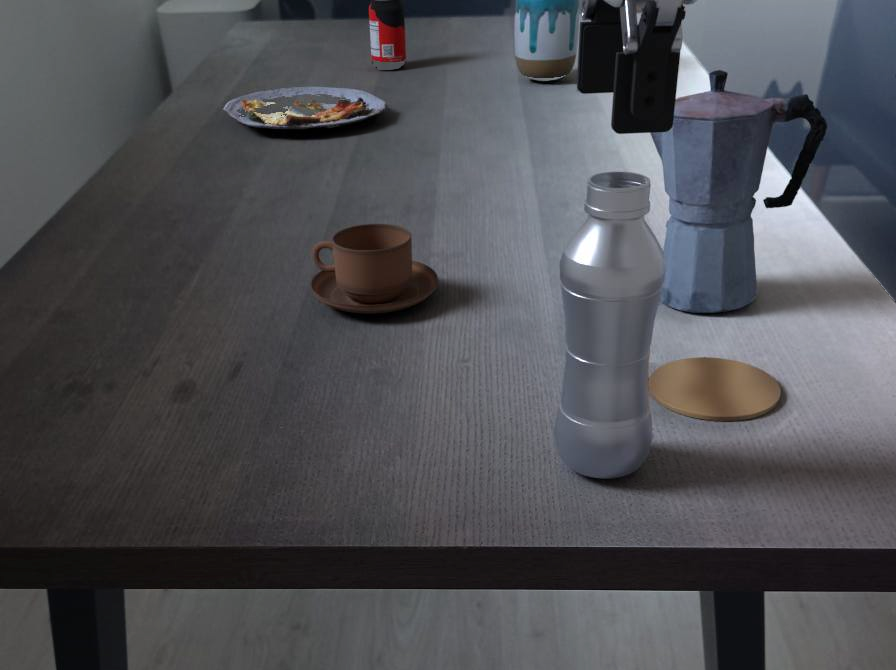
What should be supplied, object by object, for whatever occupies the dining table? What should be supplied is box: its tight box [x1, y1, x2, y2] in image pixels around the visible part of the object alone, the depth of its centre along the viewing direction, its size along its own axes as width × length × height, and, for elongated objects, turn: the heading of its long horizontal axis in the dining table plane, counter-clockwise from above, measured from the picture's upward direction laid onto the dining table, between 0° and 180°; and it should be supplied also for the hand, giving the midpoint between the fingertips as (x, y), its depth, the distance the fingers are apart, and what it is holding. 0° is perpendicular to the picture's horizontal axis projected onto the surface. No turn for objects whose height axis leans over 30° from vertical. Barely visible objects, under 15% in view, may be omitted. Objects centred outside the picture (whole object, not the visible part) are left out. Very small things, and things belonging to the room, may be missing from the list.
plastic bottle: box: [553, 170, 666, 479], centre depth 67 cm, size 6×7×20 cm
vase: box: [513, 0, 580, 83], centre depth 171 cm, size 11×11×19 cm
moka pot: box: [649, 69, 828, 314], centre depth 91 cm, size 10×15×20 cm, turn 78°
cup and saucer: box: [310, 223, 439, 315], centre depth 97 cm, size 12×12×6 cm
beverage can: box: [368, 0, 407, 62], centre depth 187 cm, size 6×6×12 cm
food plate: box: [222, 86, 388, 130], centre depth 158 cm, size 25×23×4 cm
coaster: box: [649, 356, 782, 422], centre depth 81 cm, size 10×10×1 cm
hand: (620, 110), depth 59 cm, fingers open, 9 cm apart
